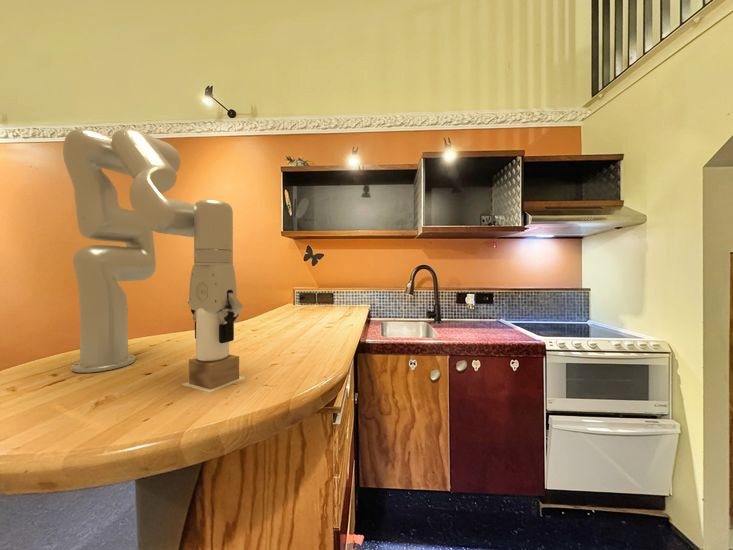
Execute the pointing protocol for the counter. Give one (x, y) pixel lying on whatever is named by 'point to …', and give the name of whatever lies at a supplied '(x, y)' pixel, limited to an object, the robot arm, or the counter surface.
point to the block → (213, 372)
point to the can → (209, 337)
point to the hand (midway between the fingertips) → (214, 339)
